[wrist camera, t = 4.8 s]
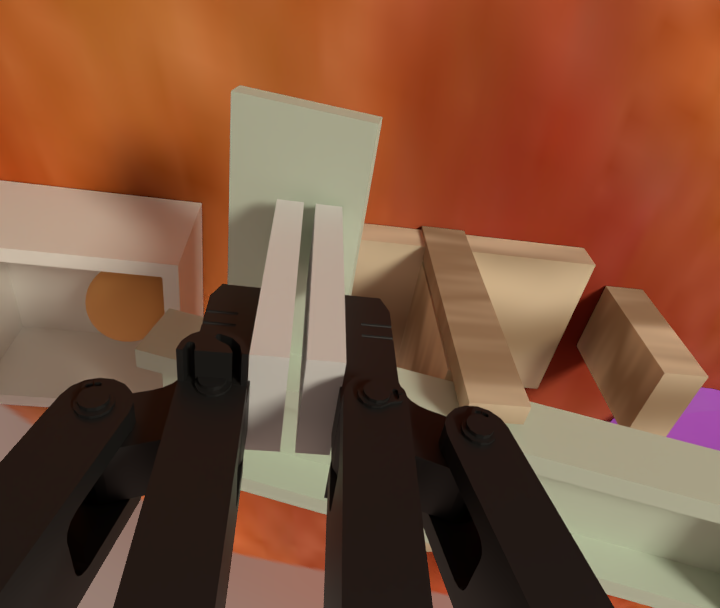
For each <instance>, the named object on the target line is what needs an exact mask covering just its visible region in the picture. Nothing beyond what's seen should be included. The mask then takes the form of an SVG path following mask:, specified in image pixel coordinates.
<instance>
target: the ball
mask: <svg viewBox="0 0 720 608" xmlns="http://www.w3.org/2000/svg"><path fill="white" fill-rule="evenodd" d="M85 304H86V311H87V314H88V317H89V319H90V321H91V323H92V324H93V325H94V327H95V328H96V329H97V330H98V331H99V332H101V333H102V334H104V335H105V336H107V337H109V338H111V339H114V340H117V341H124V342H132V341H139V340H142V339H144V337H145V336H146V335H147V334H148V333H149V331H150V330H151V329H152V328H153V327H154V326H155V324H156V323H157V322H158V321H159V320H160V318H161V317H162V316H163V315H164V314H165V312H164V297H163V281H162V278H161V277H155V276H144V275H134V274H124V273H113V272H103V271H101V272H100V273H99V274H98V275H97V276H96V277H95V278H94V279H93V280H92V282H91V283H90V285H89V287H88V290H87V293H86V300H85Z"/></svg>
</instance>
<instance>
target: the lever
mask: <svg viewBox="0 0 720 608" xmlns="http://www.w3.org/2000/svg"><path fill="white" fill-rule="evenodd" d="M382 118H383V117H380V116H375V115H371V114H366V113H362V112H357V111H353V110H348V109H344V108H339V107H335V106H330V105H326V104H321V103H317V102H313V101H308V100H304V99H299V98H295V97H290V96H286V95H281V94H277V93H272V92H268V91H263V90H259V89H254V88H250V87H245V86H241V85H239V86H238V87H236V88H235V89H233V90H232V91H231V124H230V180H229V237H228V285H238V286H247V287H257V288H261V286H262V280H263V274H264V269H265V263H266V258H267V252H268V247H269V241H270V235H271V230H272V224H273V219H274V213H275V207H276V202H277V199H281V200H289V201H298V202H304V209H303V219H302V230H301V241H300V252H299V263H298V273H297V284H296V295H295V306H294V317H293V327H292V338H291V349H290V360H289V369H288V379H287V389H286V398H285V408H284V417H283V427H282V437H281V446H280V452H274V451H260V450H244V457H243V474H242V481H241V489H240V490H242V491H245V492H249V493H252V494H256V495H259V496H263V497H266V498H270V499H273V500H277V501H280V502H284V503H287V504H291V505H295V506H298V507H302V508H305V509H309V510H312V511H316V512H319V513H323V514H326V515H327V498H324V495H325V490H326V484H327V479H328V473H329V468H330V463H331V450H330V455H319V454H305V453H295V445H296V430H297V416H298V401H299V387H300V372H301V357H302V343H303V328H304V314H305V299H306V284H307V275H308V266H309V258H310V249H311V240H312V232H313V223H314V214H315V206H316V204H323V205H331V206H340V207H342V211H343V250H344V288H345V295H351V294H352V288H353V283H354V277H355V271H356V265H357V260H358V254H359V248H360V243H361V237H362V231H363V226H364V220H365V214H366V209H367V203H368V197H369V192H370V186H371V180H372V175H373V169H374V163H375V157H376V152H377V146H378V140H379V135H380V129H381V123H382ZM203 318H204V317H201V316H198V315H194V314H190V313H186V312H182V311H178V310H174V309H171V308H169V309H168V310H167V311H166V312H165V314H164V315H163V316H162V317H161V318H160V320H159V321H158V322H157V323H156V324H155V326H154V327H153V328H152V329H151V330H150V331H149V333H148V334H147V335H146V336H145V337H144V339H143V340H142V341H141V342H140V343H139V344H138V346H137V347H136V348H135V357H136V366H137V367H139V368H143V369H147V370H150V371H154V372H158V373H162V377H163V387H165V386H167V385H169V384H172V383H174V382H175V381H176V380H177V362H176V348H177V346H178V345H179V343H180V342H181V340H183V339H184V338H186V337H187V336H189V335H190V334H192V333H195V332H199V331H200V328H201V325H202V323H203ZM397 372H398V380H399V384H400V386H401V387H402V388H403V389H404V390H405V392H406V395H407V397H408V398H409V399H410V400H411V401H412V402H414V403H416V404H417V405H419V406H420V407H423V408H425V409H427V410H430V411H433V412H436V413H438V414H441V415H444V416H447V415H448V414H449V413H450V412H451V411H452V410H453V409H455V408H458V407H459V403H458V399H457V395H456V391H455V387H454V383H453V382H452V381H448V380H444V379H441V378H437V377H433V376H429V375H425V374H421V373H417V372H414V371H410V370H406V369H402V368H398V367H397ZM530 405H531V409H530V412H529V414H528V416H527V418H526V420H525V422H524V424H509V423H505V424H506V425H507V426H508V428H509V430H510V431H511V433H512V435H513V436H514V438H515V440H516V441H517V443H518V445H519V447H520V448H521V450H522V452H523V453H524V455H525V457H526V458H527V460H528V462H529V464H530V465H531V467H532V469H533V470H534V472H535V474H536V475H537V477H538V479H539V481H540V482H541V484H542V486H543V487H544V489H545V491H546V492H547V494H548V496H549V498H550V499H551V501H552V503H553V504H554V506H555V508H556V509H557V511H558V513H559V515H560V516H561V518H562V520H563V521H564V523H565V525H566V526H567V528H568V530H569V532H570V533H571V535H572V537H573V538H574V540H575V542H576V543H577V545H578V547H579V549H580V550H581V552H582V554H583V555H584V557H585V559H586V560H587V562H588V564H589V566H590V567H591V569H592V571H593V572H594V574H595V576H596V577H597V579H598V581H599V583H600V584H601V586H602V588H603V589H604V591H605V593H606V594H608V595H612V596H615V597H619V598H622V599H626V600H629V601H633V602H636V603H640V604H644V605H647V606H651V607H654V608H720V451H718V450H714V449H711V448H707V447H703V446H699V445H695V444H691V443H687V442H684V441H680V440H676V439H672V438H668V437H664V436H660V435H657V434H653V433H649V432H645V431H641V430H637V429H633V428H630V427H626V426H622V425H618V424H614V423H610V422H606V421H603V420H599V419H595V418H591V417H587V416H583V415H579V414H576V413H572V412H568V411H564V410H560V409H556V408H552V407H549V406H545V405H541V404H537V403H533V402H530ZM423 529H424V528H423ZM424 537H425V543H428V544H429V541H428V539H427V536H426V533H425V531H424Z"/></svg>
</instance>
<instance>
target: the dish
mask: <svg viewBox="0 0 720 608" xmlns="http://www.w3.org/2000/svg"><path fill="white" fill-rule="evenodd" d="M101 271H103V272H113V273H124V274H134V275H144V276H155V277H161V278H162V281H163V297H164V312H166V311H167V310H168V309H169V308H171V309H174V310H178V311H182V312H186V313H190V314H194V315H198V316H201V317H203V253H202V203H196V202H187V201H178V200H169V199H161V198H152V197H143V196H134V195H125V194H116V193H107V192H99V191H90V190H81V189H72V188H63V187H54V186H45V185H36V184H28V183H19V182H10V181H1V180H0V404H7V405H22V406H37V407H50V406H51V404H52V403H53V402H54V401H55V400H56V399H57V398H58V396H59V395H60V394H62V393H63V392H64V391H65V390H67V389H68V388H69V387H70V386H72V385H74V384H77V383H79V382H81V381H84V380H88V379H95V378H108V379H115V380H117V381H119V382H122V383H124V384H126V386H127V387H128V388H129V389H130V390H131V391H132V393H136V392H143V391H149V390H154V389H158V388H162V387H163V377H162V373H158V372H154V371H150V370H147V369H143V368H139V367H137V366H136V357H135V348H136V347H137V346H138V344H139V343H140V342H141V341H142V340H143V339H142V340H139V341H132V342H124V341H117V340H114V339H111V338H109V337H107V336H105V335H104V334H102V333H101V332H99V331H98V330H97V329H96V328H95V327H94V325H93V324H92V323H91V321H90V319H89V317H88V314H87V311H86V304H85V300H86V293H87V290H88V287H89V285H90V283H91V282H92V280H93V279H94V278H95V277H96V276H97V275H98V274H99V273H100V272H101Z"/></svg>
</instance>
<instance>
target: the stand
mask: <svg viewBox="0 0 720 608" xmlns="http://www.w3.org/2000/svg"><path fill="white" fill-rule="evenodd" d="M594 267H595V264H594V262H593V261H592V259H591V258H590V256H589V255H588V254H587V252H586V251H585V249H584V248H578V247H570V246H561V245H552V244H543V243H534V242H525V241H516V240H507V239H498V238H489V237H481V236H472V235H465V232H464V231H461V230H453V229H444V228H435V227H426V226H422V228H421V230H418V229H409V228H400V227H392V226H383V225H374V224H365V223H364V226H363V231H362V237H361V243H360V248H359V254H358V260H357V265H356V271H355V277H354V283H353V288H352V294H351V296H361V297H370V298H380V299H381V301H382V302H383V303H384V305H385V306H386V307H387V309H388V310H389V312H390V318H391V329H392V334H393V341H394V349H395V357H396V365H397V367H398V368H402V369H406V370H410V371H414V372H417V373H421V374H425V375H429V376H433V377H437V378H441V379H444V380H448V381H452V382H453V383H454V387H455V391H456V395H457V399H458V403H459V407H461V406H478V407H481V408H483V409H486V410H489V411H491V412H492V413H494V414H495V415H497V416H498V417H500V418H501V419H502V420H503V422H504V423H509V424H524V422H525V420H526V418H527V416H528V414H529V412H530V409H531V405H530V402H529V399H528V397H527V394H526V391H525V389H524V388H535V389H538V386H539V384H540V382H541V380H542V378H543V376H544V374H545V372H546V369H547V367H548V365H549V363H550V361H551V359H552V357H553V355H554V352H555V350H556V348H557V346H558V344H559V342H560V340H561V337H562V335H563V333H564V331H565V329H566V327H567V325H568V323H569V320H570V318H571V316H572V314H573V312H574V310H575V308H576V306H577V303H578V301H579V299H580V297H581V295H582V293H583V291H584V289H585V286H586V284H587V282H588V280H589V278H590V276H591V274H592V272H593V269H594ZM576 346H577V348H578V350H579V352H580V354H581V355H582V357H583V359H584V361H585V363H586V365H587V367H588V369H589V371H590V372H591V374H592V376H593V378H594V380H595V382H596V384H597V386H598V388H599V390H600V391H601V393H602V395H603V397H604V399H605V401H606V403H607V405H608V407H609V409H610V410H611V412H612V414H613V416H614V418H615V420H616V422H617V424H618V425H622V426H626V427H630V428H633V429H637V430H641V431H645V432H649V433H653V434H657V435H660V436H664V437H666V436H667V435H668V433H669V432H670V430H671V429H672V428H673V426H674V425H675V423H676V422H677V421H678V419H679V418H680V416H681V415H682V413H683V412H684V411H685V409H686V408H687V406H688V405H689V404H690V402H691V401H692V399H693V398H694V396H695V395H696V394H697V392H698V391H699V389H700V388H701V387H702V385H703V384H704V382H705V381H706V380H707V378H708V376H707V374H706V373H705V372H704V370H703V369H702V368H701V366H700V365H699V364H698V362H697V361H696V360H695V358H694V357H693V356H692V354H691V353H690V352H689V351H688V349H687V348H686V347H685V345H684V344H683V343H682V341H681V340H680V339H679V337H678V336H677V335H676V333H675V332H674V331H673V329H672V328H671V327H670V325H669V324H668V323H667V321H666V320H665V319H664V317H663V316H662V315H661V313H660V312H659V311H658V310H657V308H656V307H655V306H654V304H653V303H652V302H651V300H650V299H649V298H648V296H647V295H646V294H645V292H644V291H643V290H639V289H629V288H620V287H610V286H606V287H605V289H604V291H603V293H602V295H601V297H600V299H599V301H598V303H597V305H596V307H595V309H594V311H593V313H592V315H591V317H590V319H589V321H588V323H587V325H586V327H585V329H584V331H583V333H582V335H581V337H580V339H579V341H578V343H577V345H576ZM425 546H426V551H428V552H432V549H431V547H430V544H428V543H425Z"/></svg>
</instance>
